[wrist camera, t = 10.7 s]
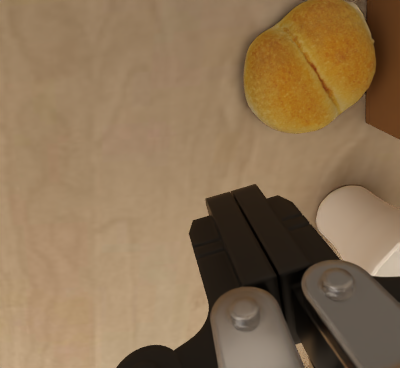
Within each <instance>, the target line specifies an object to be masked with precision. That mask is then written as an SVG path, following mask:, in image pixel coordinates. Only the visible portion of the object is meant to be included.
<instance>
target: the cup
mask: <svg viewBox="0 0 400 368" xmlns="http://www.w3.org/2000/svg"><path fill="white" fill-rule="evenodd" d="M316 224H317V228H318V230H319V231H320V232H321V233H322V234H323V235H324V236H325V237H326V238H327V239H328V240H329V241H330V242H331V243H332V244H333V246H334V247H335V248H336V249H337V251H338V252H339V254H340V255H341V257H342V259H343V260H344V261H347V262H350V263H353V264H356V265H358V266H360V267H361V268H363V269H364V270H366V271H367V272H368V273H369V274H370V275H371V276H378V277H398V276H400V209H399V208H396V207H393V206H392V205H390V204H388V203H386V202H385V201H383V200H382V199H380V198H378V197H377V196H375V195H374V194H373V193H371V192H370V191H369V190H367V189H365V188H363V187H361V186H352V185H349V186H344V187H341V188H338V189H336V190H335V191H333V192H331V193H330V194H329V195H328V196H327V197H326V198H325V199H324V200H323V201H322V202H321V204H320V206H319V208H318V212H317V217H316Z"/></svg>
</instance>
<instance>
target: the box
mask: <svg viewBox="0 0 400 368" xmlns="http://www.w3.org/2000/svg"><path fill="white" fill-rule="evenodd" d="M367 25H368V27H369V30H370V32H371V37H372V39H373V40H374V44H373V45H374V48H375V57H376V70H375V74H374V76H373V79H372V82H371V84H370V86H369V88H368V89H367V90H366V123H368V124H370V125H372V126H374V127H376V128H378V129H380V130H382V131H384V132H386V133H388V134H390V135H392V136H394V137H396V138H398V139H400V0H367Z"/></svg>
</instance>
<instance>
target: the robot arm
mask: <svg viewBox="0 0 400 368" xmlns="http://www.w3.org/2000/svg"><path fill="white" fill-rule="evenodd" d="M205 200H206V205H207V209H208V213H209V216H207V217H203V218H200V219H196V220H193V222H192V225H191V228H190V232H189V235H190V239H191V242H192V246H193V249H194V253H195V257H196V260H197V264H198V267H199V271H200V274H201V278H202V281H203V285H204V288H205V292H206V295H207V299H208V303H209V312H208V317H207V319H206V322H205V323H204V325H203V327H202V328H201V329H200V331H199V332H198V333H197V334H196V335H195V336H194V337H193V338H191V339H190V340H189V341H187V342H186V343H184V344H183V345H181V346H180V347H178V348H177V349H175V350H174V351H173V350H172V349H170V348H168V347H166V346H161V345H150V346H146V347H142V348H140V349H138V350H136V351H134V352H132V353H131V354H129V355H128V356H127V357H125V358H124V359H123V360H122V361H121V362H120V364H119V365H118V366H117V368H304V365H303V363H302V360H301V358H300V355H299V353H298V350H297V348H296V346H295V344H298V343H302V345H303V347H304V349H305V351H306V352H307V354H308V356H309V366H310V368H400V276H398V277H378V276H371V275H370V274H369V273H368V272H367V271H366V270H364V269H363V268H361V267H360V266H358V265H356V264H353V263H350V262H347V261H342V260H340V259H339V258H338V256H337V255H336V254H335V253H334V252H333V250H332V249H331V248H330V247H329V246H328V244H327V243H326V242H325V241H324V240H323V238H322V237H321V236H320V235H319V234H318V232H317V231H316V230H315V229H314V228H313V226H312V225H310V224H309V222H308V220H307V219H306V218H305V217H304V216H302V213H301V212H300V211H299V210H298V208H297V207H296V206H295V205H294V204H293V202H291V201H289V200H287V199H285V198H283V197H281V196H278V195H277V196H274V197H271V198H267V199H266V197H265V196H264V195H263V193H262V192H261V190H260V189H259V188H258V186H257V185H256V184H254V185H250V186H247V187H244V188H240V189H237V190H233V191H231V193H230V192H227V193H223V194H220V195H216V196H213V197H210V198H206V199H205Z"/></svg>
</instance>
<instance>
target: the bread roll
mask: <svg viewBox="0 0 400 368" xmlns="http://www.w3.org/2000/svg"><path fill="white" fill-rule="evenodd" d="M373 44H374V40H373V39H372V37H371V32H370V30H369V27H368V25H367V23H366V21H365V18H364V16H363V14H362V12H361V11H360V9H359V8H358V6H357V5H356V4H355V3H354V2H350V1H343V0H308V1H306V2H303V3H301V4H299V5H298V6H296V7H295V8H294V9H292V10H291V11H290V12H289V13H288V14H287V15H286V16H285V17H284V18H283V19H282V20H281V21H280V22H279V23H277V24H276V25H275V26H274V27H272V28H270V29H268V30H266V31H264V32H263V33H262V34H260V35H259V36H258V37H257V38H256V39H255V40H254V41H253V42H252V43H251V45H250V47H249V49H248V51H247V54H246V59H245V65H244V91H245V97H246V100H247V103H248V106H249V107H250V108H251V110H252V112H253V113H254V114H255V115H256V116H257V117H258V118H259V120H260V121H262V122H263V123H264V124H266V125H267V126H269V127H271V128H273V129H275V130H278V131H281V132H285V133H294V134H299V133H305V132H312V131H316V130H319V129H321V128H323V127H325V126H326V125H328V124H329V123H330V122H332V121H333V120H334V119H335V118H336V117H337V116H338V115H339V114H341V113H342V112H343V111H345V110H346V109H347V108H349V107H350V106H352V105H353V104H354V103H356V102H357V101H358V100H359V99H360V98H361V97H362V96H363V94H364V93H365V91H366V90H367V89H368V88H369V86H370V84H371V82H372V79H373V76H374V74H375V70H376V57H375V48H374V45H373Z"/></svg>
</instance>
